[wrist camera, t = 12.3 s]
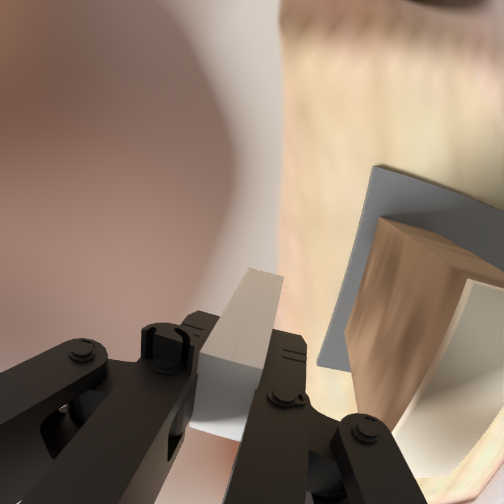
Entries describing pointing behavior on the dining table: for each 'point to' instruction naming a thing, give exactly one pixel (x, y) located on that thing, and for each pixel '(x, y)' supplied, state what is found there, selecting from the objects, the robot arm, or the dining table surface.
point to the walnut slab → (427, 345)
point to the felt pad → (419, 215)
